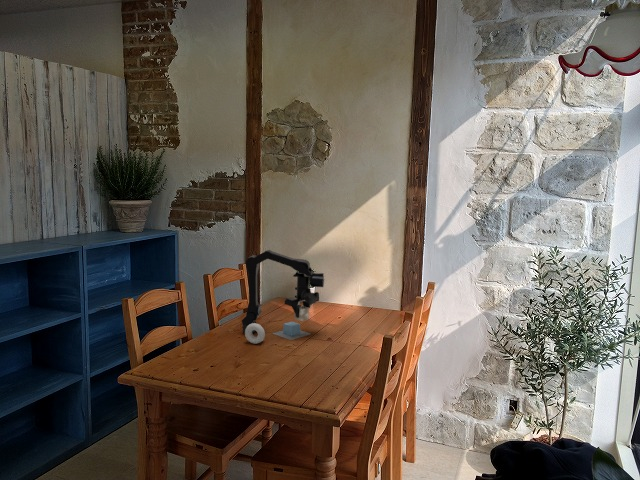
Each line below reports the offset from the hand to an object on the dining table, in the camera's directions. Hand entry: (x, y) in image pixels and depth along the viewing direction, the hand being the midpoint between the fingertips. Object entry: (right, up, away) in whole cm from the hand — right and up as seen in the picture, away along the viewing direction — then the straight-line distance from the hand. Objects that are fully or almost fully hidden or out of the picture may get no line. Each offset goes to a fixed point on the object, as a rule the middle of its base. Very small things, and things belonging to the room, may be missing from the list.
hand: (301, 316), depth 259 cm
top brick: (0, -1, 0) cm, 1 cm away
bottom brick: (-5, -9, +3) cm, 11 cm away
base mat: (-5, -10, +3) cm, 12 cm away
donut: (-22, -12, -9) cm, 26 cm away
